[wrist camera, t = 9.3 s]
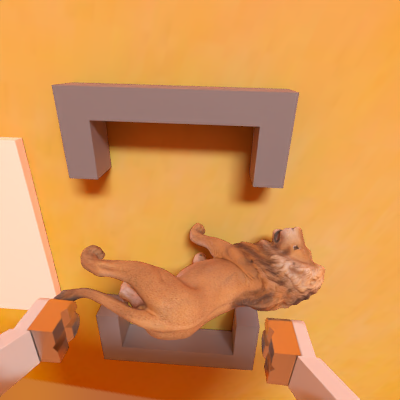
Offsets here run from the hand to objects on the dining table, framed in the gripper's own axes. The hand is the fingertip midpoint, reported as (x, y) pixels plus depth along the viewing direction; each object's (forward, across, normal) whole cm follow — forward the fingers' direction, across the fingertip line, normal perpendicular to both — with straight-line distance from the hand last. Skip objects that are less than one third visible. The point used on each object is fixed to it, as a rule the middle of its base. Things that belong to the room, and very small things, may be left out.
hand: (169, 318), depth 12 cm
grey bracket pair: (+7, 0, +1) cm, 7 cm away
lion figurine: (+5, +1, 0) cm, 5 cm away
